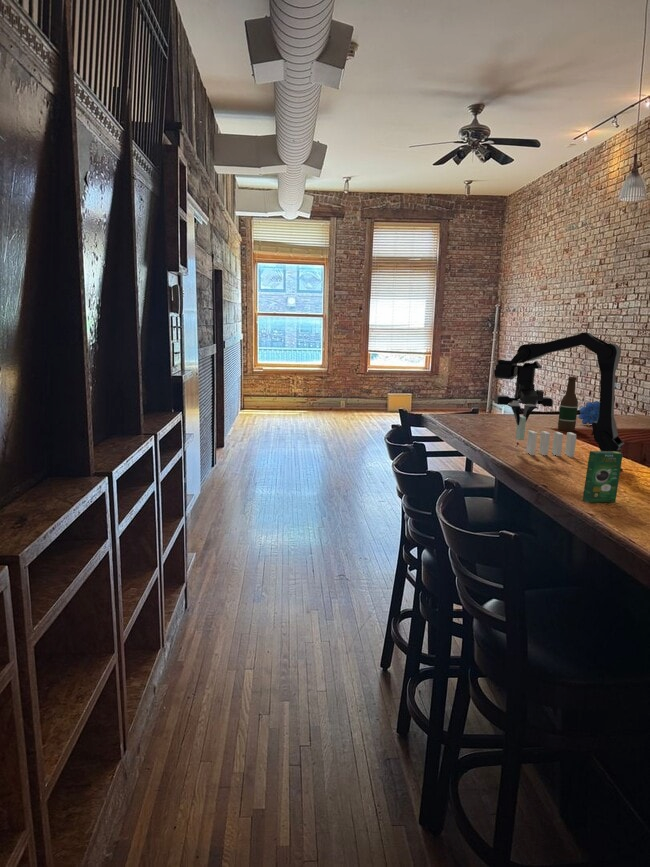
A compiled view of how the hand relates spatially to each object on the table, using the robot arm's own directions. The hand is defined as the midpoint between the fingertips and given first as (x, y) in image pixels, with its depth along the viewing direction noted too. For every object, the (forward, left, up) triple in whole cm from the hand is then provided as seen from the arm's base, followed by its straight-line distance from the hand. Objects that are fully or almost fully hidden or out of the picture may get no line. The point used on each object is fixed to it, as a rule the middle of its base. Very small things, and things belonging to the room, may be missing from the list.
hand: (520, 425), depth 192 cm
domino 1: (0, 0, -5) cm, 5 cm away
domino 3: (0, -9, -10) cm, 14 cm away
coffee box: (-55, -5, -10) cm, 56 cm away
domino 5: (0, -18, -10) cm, 21 cm away
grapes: (+74, -56, -10) cm, 93 cm away
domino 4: (0, -13, -10) cm, 17 cm away
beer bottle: (+57, -38, -10) cm, 69 cm away
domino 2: (0, -4, -10) cm, 11 cm away
